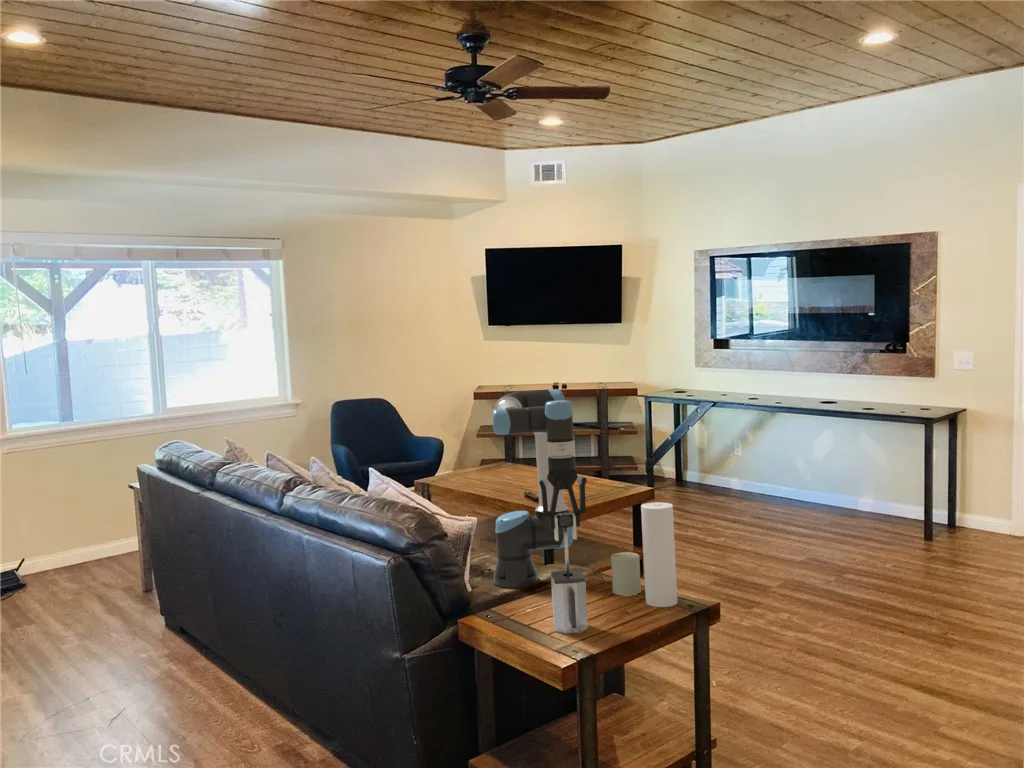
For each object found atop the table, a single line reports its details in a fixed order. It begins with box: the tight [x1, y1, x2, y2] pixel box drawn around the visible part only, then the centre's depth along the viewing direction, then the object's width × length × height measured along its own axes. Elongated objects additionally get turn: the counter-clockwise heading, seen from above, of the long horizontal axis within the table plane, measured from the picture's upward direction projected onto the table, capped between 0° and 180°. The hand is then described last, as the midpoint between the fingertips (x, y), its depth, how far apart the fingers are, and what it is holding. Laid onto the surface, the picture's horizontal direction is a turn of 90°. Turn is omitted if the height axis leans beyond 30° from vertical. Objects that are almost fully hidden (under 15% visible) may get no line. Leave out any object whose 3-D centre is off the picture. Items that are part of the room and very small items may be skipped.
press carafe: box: [550, 569, 589, 635], centre depth 213 cm, size 12×10×15 cm
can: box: [610, 551, 642, 595], centre depth 243 cm, size 9×9×12 cm
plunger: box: [557, 512, 573, 576], centre depth 214 cm, size 7×7×20 cm
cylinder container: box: [640, 501, 678, 608], centre depth 231 cm, size 9×9×30 cm
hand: (565, 538), depth 213 cm, fingers closed on plunger, 4 cm apart
